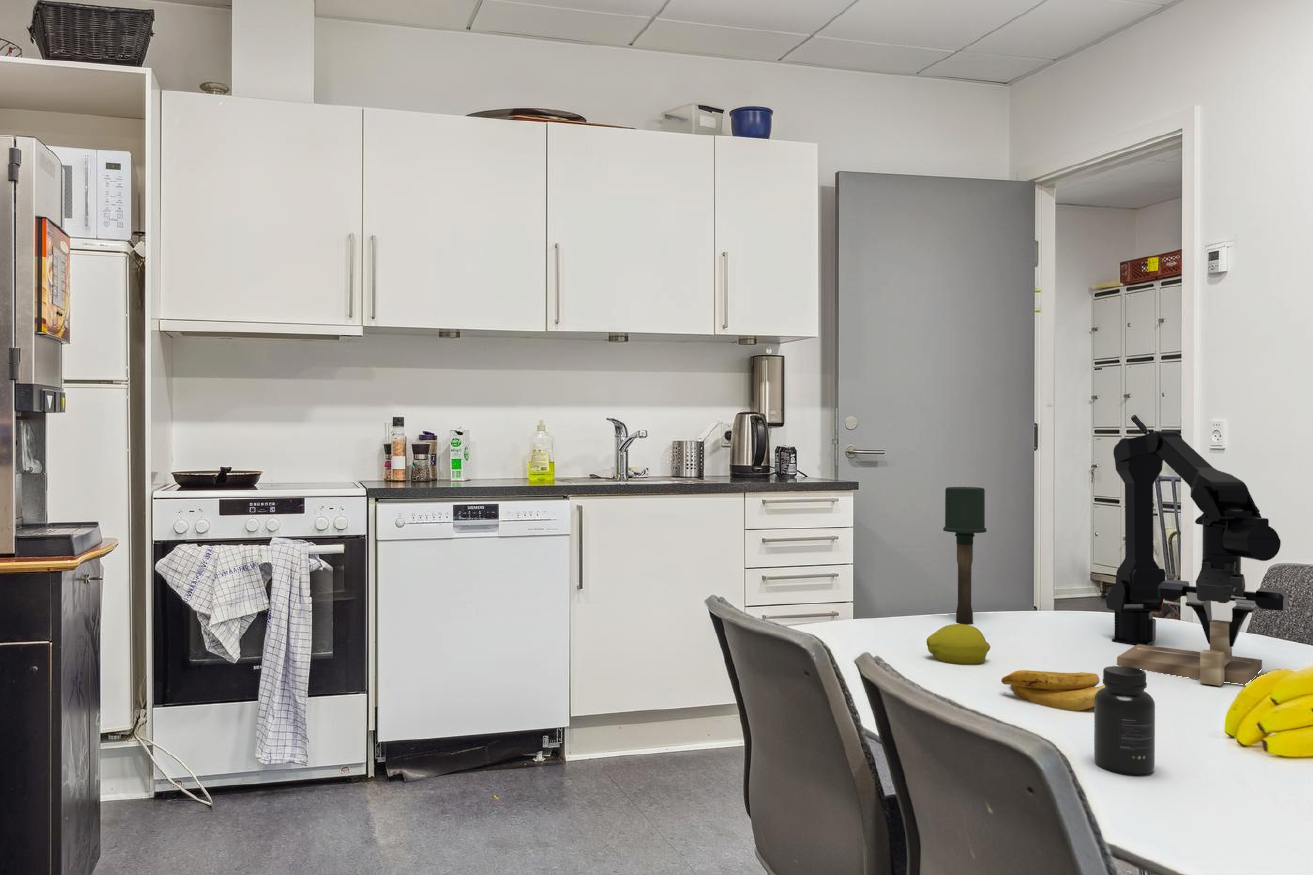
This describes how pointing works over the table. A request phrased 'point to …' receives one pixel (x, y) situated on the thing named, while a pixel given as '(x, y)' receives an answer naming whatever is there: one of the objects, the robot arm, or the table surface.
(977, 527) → the potato masher grenade
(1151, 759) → the supplement bottle
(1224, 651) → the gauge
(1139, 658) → the board
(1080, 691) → the banana
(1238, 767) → the table surface
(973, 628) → the lemon
